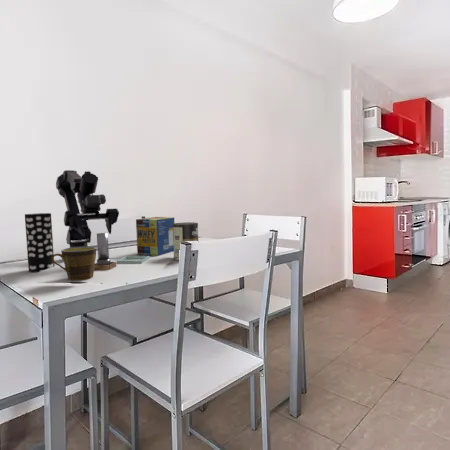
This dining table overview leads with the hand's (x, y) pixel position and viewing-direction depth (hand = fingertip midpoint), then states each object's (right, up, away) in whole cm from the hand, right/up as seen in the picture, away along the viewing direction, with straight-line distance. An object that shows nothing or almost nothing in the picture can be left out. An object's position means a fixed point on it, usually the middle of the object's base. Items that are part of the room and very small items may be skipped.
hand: (97, 234), depth 133 cm
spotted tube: (-20, -13, +1) cm, 24 cm away
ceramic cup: (0, -14, -19) cm, 24 cm away
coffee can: (+30, -10, +18) cm, 36 cm away
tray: (+11, -11, +9) cm, 18 cm away
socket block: (+4, -13, -4) cm, 14 cm away
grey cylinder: (+4, -12, -4) cm, 13 cm away
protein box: (+15, -9, +33) cm, 38 cm away
